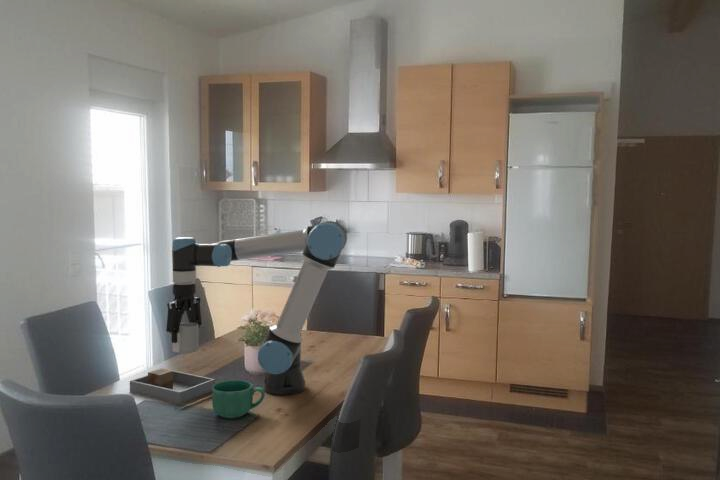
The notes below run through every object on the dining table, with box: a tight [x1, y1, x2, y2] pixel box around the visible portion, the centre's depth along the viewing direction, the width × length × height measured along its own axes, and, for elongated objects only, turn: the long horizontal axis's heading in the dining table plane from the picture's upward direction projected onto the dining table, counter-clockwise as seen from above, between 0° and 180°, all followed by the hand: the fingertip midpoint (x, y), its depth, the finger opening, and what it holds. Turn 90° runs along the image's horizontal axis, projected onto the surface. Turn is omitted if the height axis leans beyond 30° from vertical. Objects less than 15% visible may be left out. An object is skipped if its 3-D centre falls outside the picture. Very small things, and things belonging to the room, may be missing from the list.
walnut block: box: [147, 368, 174, 389], centre depth 222 cm, size 6×6×6 cm
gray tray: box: [129, 368, 216, 405], centre depth 219 cm, size 24×17×4 cm
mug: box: [211, 379, 266, 419], centre depth 198 cm, size 17×13×10 cm
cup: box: [169, 321, 200, 354], centre depth 212 cm, size 7×10×9 cm
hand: (184, 349), depth 212 cm, fingers closed on cup, 7 cm apart
